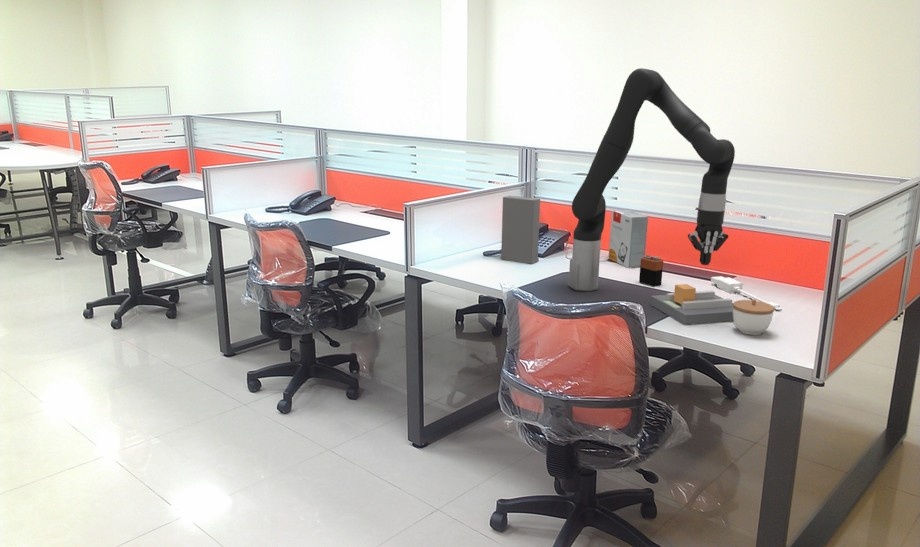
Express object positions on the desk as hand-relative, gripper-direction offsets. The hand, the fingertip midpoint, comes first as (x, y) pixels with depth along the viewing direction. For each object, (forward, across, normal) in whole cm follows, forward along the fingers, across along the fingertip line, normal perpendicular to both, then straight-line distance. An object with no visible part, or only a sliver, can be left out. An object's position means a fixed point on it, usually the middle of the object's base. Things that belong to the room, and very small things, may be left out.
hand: (704, 264), depth 215 cm
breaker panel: (+15, -1, 0) cm, 15 cm away
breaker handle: (+12, -6, 0) cm, 13 cm away
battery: (+16, +1, +33) cm, 36 cm away
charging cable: (+16, +25, +12) cm, 32 cm away
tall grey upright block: (+17, -33, +75) cm, 83 cm away
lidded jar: (+15, +4, -19) cm, 25 cm away
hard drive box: (+16, +7, +63) cm, 65 cm away
